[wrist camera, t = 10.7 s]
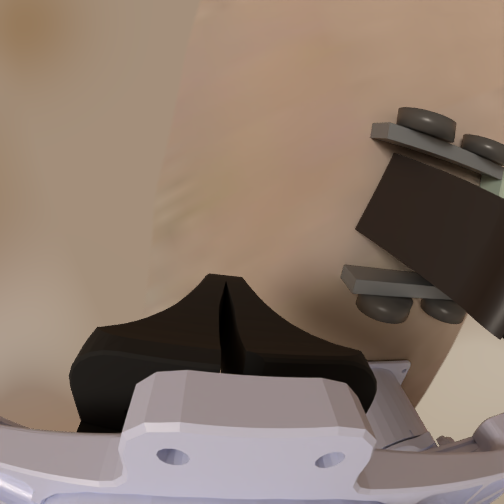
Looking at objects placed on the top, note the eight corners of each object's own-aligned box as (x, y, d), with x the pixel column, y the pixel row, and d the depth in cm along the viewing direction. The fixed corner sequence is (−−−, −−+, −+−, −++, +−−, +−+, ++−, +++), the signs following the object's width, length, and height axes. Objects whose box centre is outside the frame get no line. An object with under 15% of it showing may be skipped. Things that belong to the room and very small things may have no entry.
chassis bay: (453, 301, 24) (478, 323, 20) (336, 293, 23) (354, 322, 19) (493, 151, 20) (526, 157, 16) (375, 105, 18) (404, 100, 15)
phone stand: (469, 211, 21) (580, 267, 10) (435, 274, 23) (530, 357, 12) (392, 151, 19) (527, 180, 8) (353, 227, 21) (457, 317, 10)
